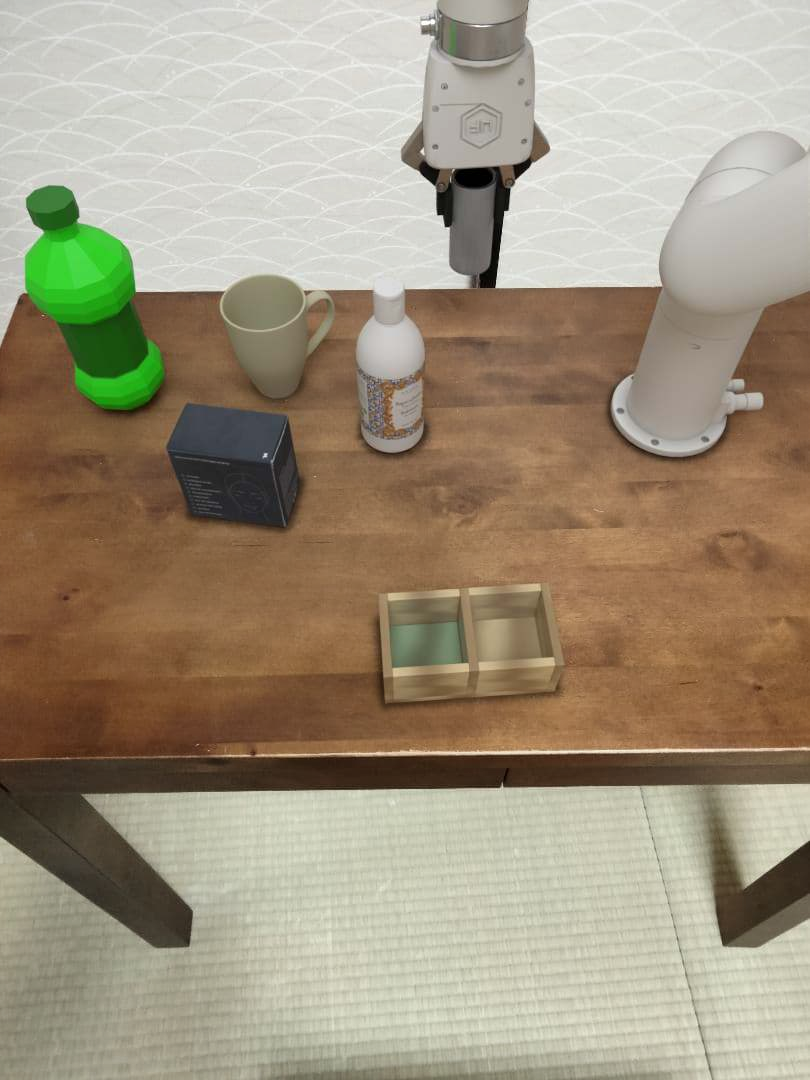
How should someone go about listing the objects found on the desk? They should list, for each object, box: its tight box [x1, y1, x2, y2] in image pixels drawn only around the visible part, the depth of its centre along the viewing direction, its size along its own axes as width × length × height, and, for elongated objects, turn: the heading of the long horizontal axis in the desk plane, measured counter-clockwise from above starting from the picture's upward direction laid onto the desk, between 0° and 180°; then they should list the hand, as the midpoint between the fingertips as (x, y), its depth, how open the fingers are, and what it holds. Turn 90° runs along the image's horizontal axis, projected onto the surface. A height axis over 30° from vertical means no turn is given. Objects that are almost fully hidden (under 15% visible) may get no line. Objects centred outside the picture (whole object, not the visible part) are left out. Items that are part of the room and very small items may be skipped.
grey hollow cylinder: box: [448, 167, 497, 277], centre depth 85 cm, size 4×4×10 cm
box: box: [165, 402, 301, 528], centre depth 82 cm, size 11×7×10 cm, turn 80°
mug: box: [219, 273, 336, 400], centre depth 90 cm, size 11×10×12 cm
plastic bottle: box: [24, 184, 165, 411], centre depth 84 cm, size 10×10×25 cm
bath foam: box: [355, 275, 426, 454], centre depth 83 cm, size 7×7×20 cm
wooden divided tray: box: [377, 582, 565, 704], centre depth 73 cm, size 15×8×6 cm, turn 94°
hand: (471, 216), depth 84 cm, fingers closed on grey hollow cylinder, 4 cm apart
